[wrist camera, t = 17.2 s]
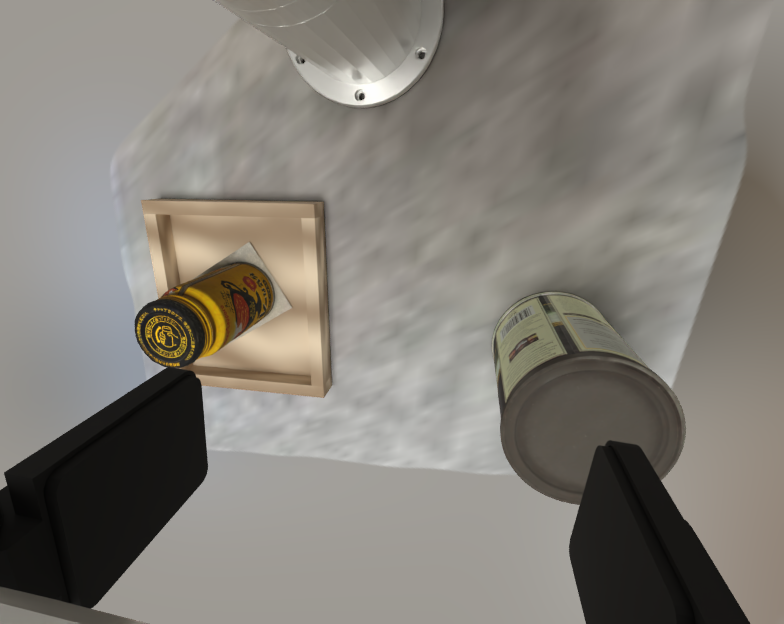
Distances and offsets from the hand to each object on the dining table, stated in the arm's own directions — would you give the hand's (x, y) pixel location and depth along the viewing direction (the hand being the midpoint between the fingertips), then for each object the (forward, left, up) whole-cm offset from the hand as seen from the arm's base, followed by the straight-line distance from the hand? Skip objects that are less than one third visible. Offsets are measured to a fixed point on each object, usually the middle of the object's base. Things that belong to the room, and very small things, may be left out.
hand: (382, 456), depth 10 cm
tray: (+6, -20, -29) cm, 36 cm away
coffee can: (+9, +9, -30) cm, 32 cm away
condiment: (+5, -20, -29) cm, 36 cm away
